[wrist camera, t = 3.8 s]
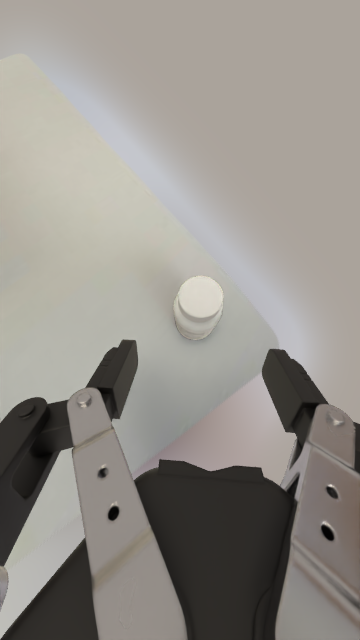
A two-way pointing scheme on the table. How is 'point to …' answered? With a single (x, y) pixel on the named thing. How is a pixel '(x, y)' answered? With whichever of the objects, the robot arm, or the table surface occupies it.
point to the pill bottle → (198, 307)
